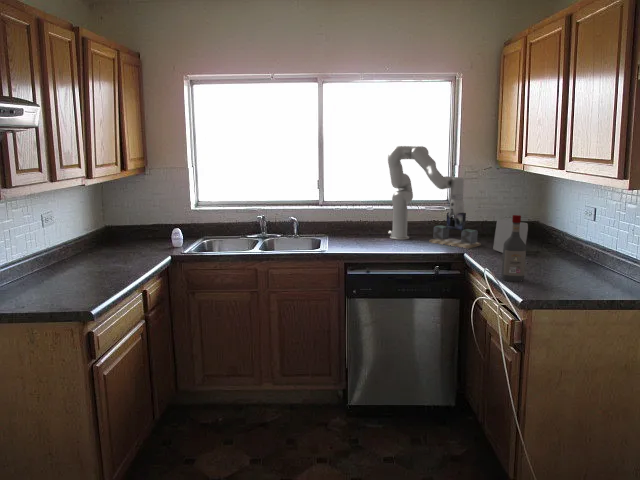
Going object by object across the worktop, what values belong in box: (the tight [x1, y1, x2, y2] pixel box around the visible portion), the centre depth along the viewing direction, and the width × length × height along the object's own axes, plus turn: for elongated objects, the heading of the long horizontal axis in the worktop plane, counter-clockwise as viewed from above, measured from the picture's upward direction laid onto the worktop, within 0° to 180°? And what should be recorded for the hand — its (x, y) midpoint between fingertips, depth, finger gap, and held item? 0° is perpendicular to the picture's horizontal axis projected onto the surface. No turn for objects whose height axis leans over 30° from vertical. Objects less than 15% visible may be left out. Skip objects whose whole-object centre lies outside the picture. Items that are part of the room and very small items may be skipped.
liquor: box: [501, 214, 527, 282], centre depth 252 cm, size 9×9×30 cm
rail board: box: [429, 225, 481, 249], centre depth 341 cm, size 28×14×10 cm, turn 45°
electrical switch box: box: [492, 218, 529, 254], centre depth 318 cm, size 15×15×20 cm
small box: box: [445, 211, 467, 231], centre depth 339 cm, size 11×6×10 cm, turn 58°
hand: (455, 225), depth 340 cm, fingers closed on small box, 7 cm apart
